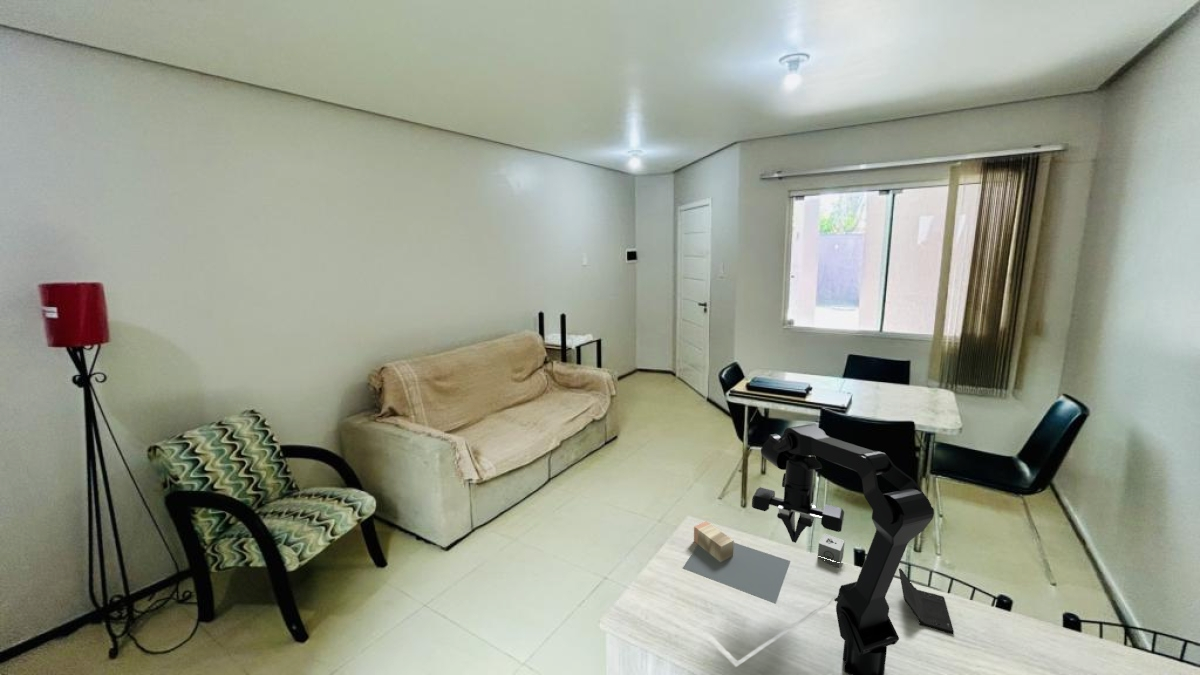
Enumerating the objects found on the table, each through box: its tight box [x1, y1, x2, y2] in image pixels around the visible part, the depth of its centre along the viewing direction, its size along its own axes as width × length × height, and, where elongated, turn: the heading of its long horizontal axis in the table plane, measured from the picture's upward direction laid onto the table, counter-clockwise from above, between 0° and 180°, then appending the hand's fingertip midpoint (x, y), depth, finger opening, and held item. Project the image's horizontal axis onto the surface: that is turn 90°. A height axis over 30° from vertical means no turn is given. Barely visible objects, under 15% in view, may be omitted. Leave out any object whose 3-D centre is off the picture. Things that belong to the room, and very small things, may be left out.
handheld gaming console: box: [898, 567, 955, 635], centre depth 103 cm, size 12×7×10 cm
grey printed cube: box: [817, 533, 846, 569], centre depth 120 cm, size 5×5×5 cm
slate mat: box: [682, 542, 791, 604], centre depth 118 cm, size 22×16×1 cm
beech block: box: [693, 520, 735, 562], centre depth 123 cm, size 4×4×10 cm
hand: (794, 541), depth 107 cm, fingers closed
